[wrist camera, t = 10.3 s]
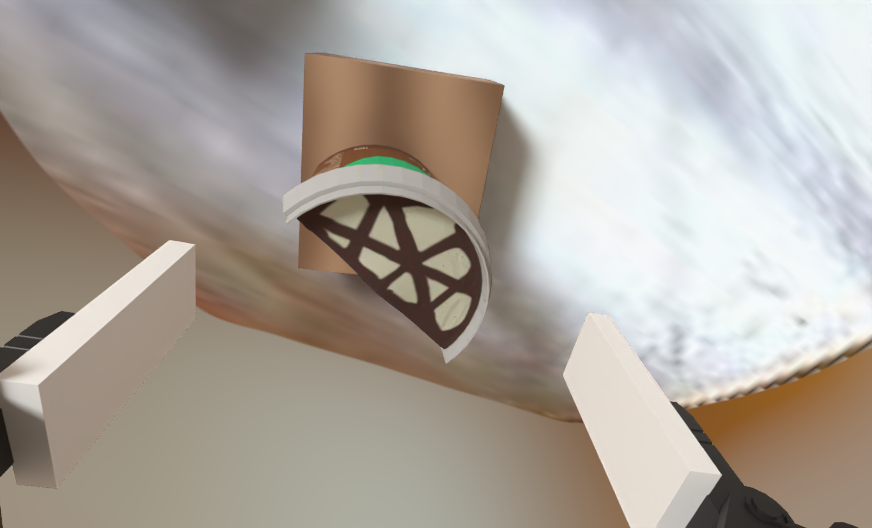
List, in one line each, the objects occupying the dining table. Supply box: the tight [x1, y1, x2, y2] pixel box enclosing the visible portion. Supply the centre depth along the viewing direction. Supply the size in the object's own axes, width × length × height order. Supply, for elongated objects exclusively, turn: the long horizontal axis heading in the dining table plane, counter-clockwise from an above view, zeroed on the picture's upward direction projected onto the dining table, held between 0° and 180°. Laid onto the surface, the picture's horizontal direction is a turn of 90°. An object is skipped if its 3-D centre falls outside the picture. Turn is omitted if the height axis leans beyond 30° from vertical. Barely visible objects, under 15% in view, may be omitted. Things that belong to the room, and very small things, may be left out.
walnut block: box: [298, 53, 504, 275], centre depth 33 cm, size 12×14×6 cm
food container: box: [282, 144, 492, 363], centre depth 26 cm, size 12×6×10 cm, turn 39°
